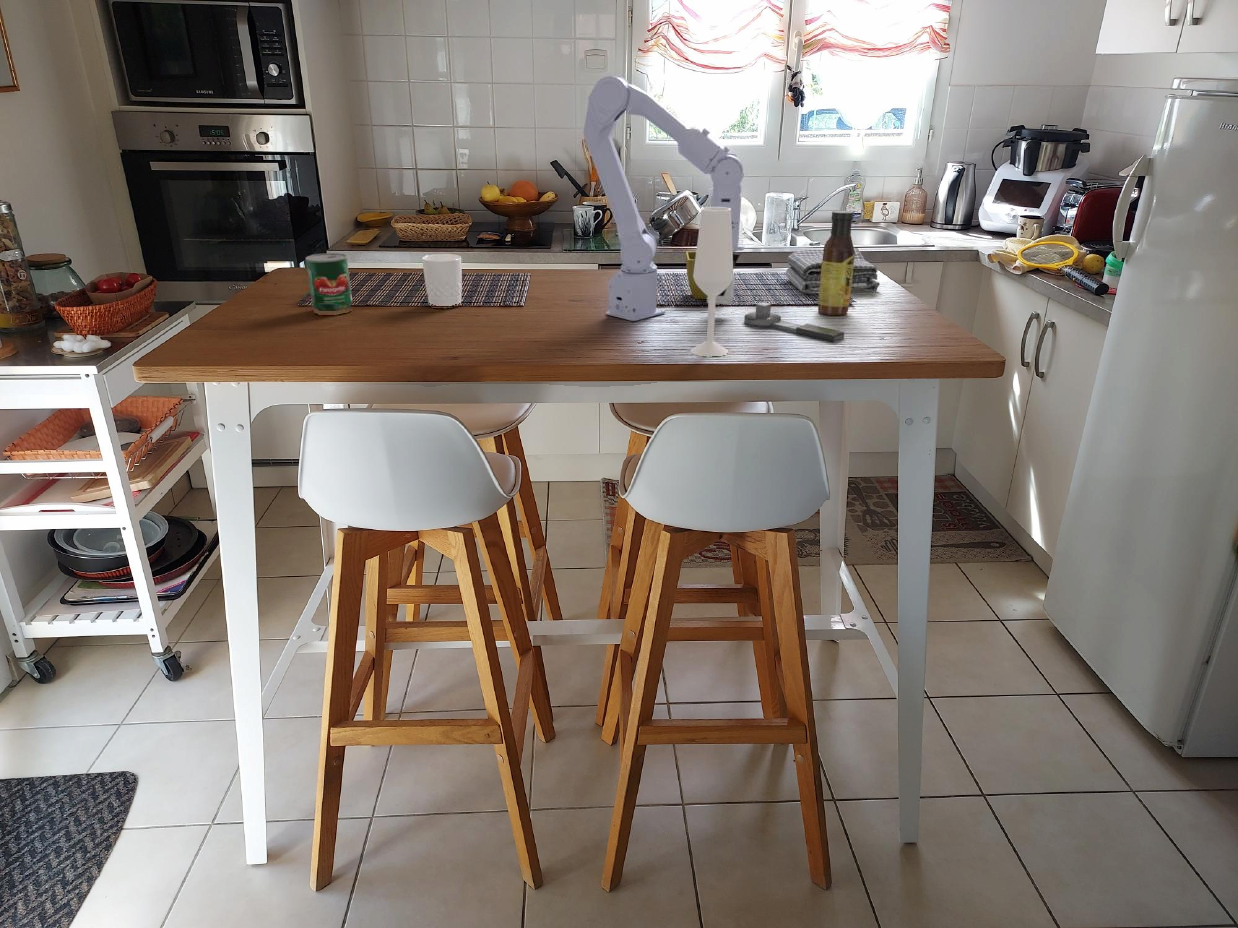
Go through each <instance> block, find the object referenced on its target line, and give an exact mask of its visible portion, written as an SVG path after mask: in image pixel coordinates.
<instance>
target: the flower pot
mask: <svg viewBox="0 0 1238 928" xmlns="http://www.w3.org/2000/svg"><path fill="white" fill-rule="evenodd" d="M695 258H696V251H686V252H685V259H686V262H685V263H686V265H685V266H686V277H687V281H688V285H689V290H690V293H691V295H692V297H693V298H694V299H695V300H699V299H700V300H701V299H702V300H704V299H705V300H707V295H706V294H705V293H704V292H703V291H702V290H701V289H700V288H699V287H698V286H697V284H696V283H695V281H694V278H693V273H694V265H695Z"/></svg>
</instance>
